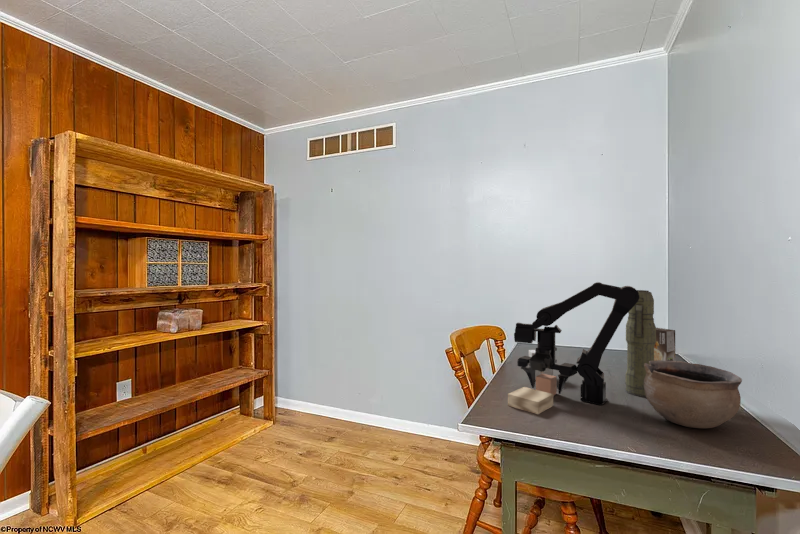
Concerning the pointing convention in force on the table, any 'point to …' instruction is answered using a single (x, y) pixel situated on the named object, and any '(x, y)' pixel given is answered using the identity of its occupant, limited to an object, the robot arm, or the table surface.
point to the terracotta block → (546, 383)
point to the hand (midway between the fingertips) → (546, 390)
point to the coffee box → (664, 345)
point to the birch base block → (530, 400)
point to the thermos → (639, 342)
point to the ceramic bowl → (692, 393)
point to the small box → (547, 371)
